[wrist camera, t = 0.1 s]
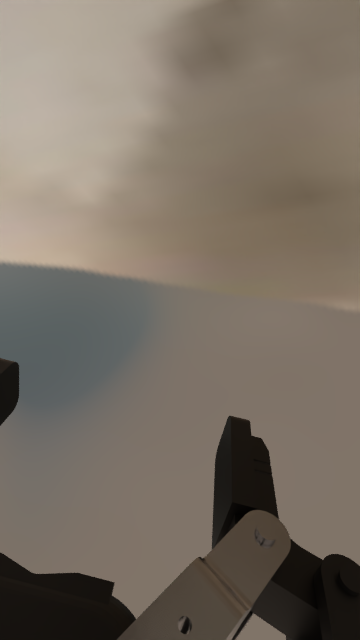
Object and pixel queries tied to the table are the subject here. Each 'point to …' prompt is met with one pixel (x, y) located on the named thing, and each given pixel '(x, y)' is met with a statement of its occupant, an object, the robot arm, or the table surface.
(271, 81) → the table surface
